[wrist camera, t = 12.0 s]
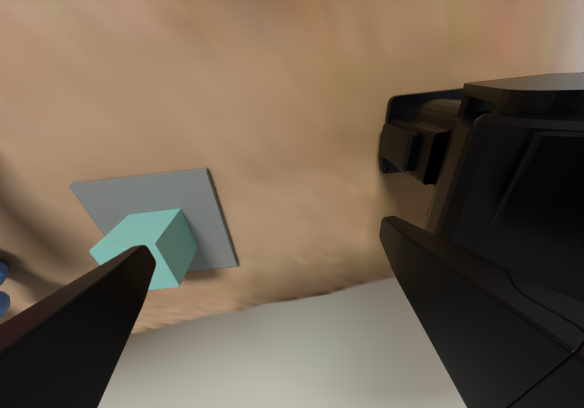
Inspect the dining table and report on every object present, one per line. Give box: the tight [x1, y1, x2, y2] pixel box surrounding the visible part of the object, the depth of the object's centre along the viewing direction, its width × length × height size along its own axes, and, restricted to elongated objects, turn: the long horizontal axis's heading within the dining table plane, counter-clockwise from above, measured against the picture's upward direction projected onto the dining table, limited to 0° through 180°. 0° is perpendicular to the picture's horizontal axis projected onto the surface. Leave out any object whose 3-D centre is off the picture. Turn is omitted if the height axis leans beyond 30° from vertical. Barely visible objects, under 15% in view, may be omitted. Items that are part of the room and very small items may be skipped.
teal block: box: [89, 208, 198, 290], centre depth 19 cm, size 5×5×5 cm
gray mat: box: [69, 168, 238, 272], centre depth 22 cm, size 12×12×1 cm
